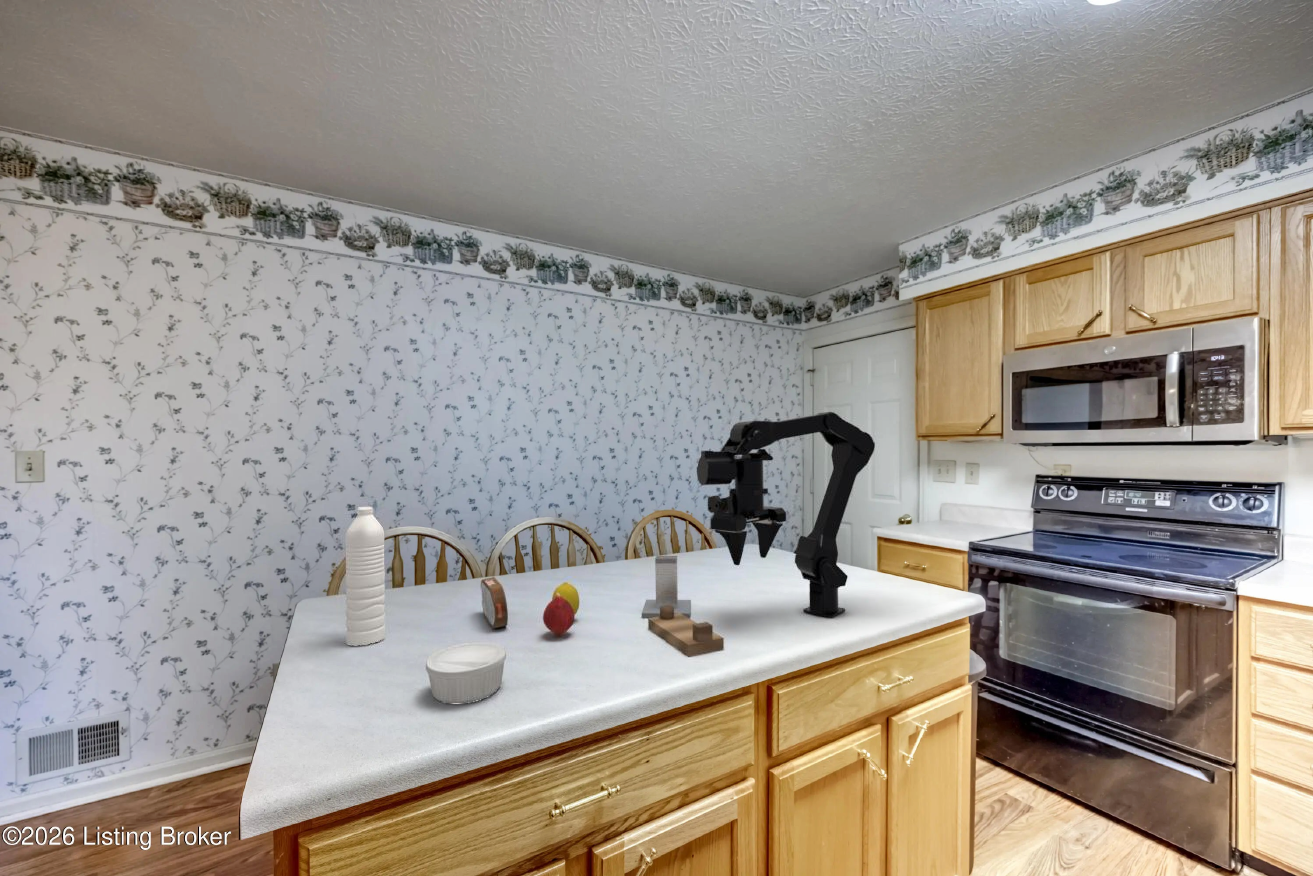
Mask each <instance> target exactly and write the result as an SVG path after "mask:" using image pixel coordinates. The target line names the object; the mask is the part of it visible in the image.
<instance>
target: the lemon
mask: <svg viewBox="0 0 1313 876" xmlns="http://www.w3.org/2000/svg"><path fill="white" fill-rule="evenodd" d="M556 593H559V594H560V596H561V597H563V598H564V599H566V600H567V601H568V602H569V603H570V605H571V606H572V607H573V610H574V614H575V615H576V614H578V613H577V612H579V611H578V610H579V608H580V596H579V592H578V589H577V588H576V587H575V586H574V585H573V584H571V583H569V582H568V581H564V582H563V583H562V584H560V585H558V586H557V587H556V588H555V589H554V592H553V594H552V597H551V601H552V600H553V599H555V596H556Z"/></svg>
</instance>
